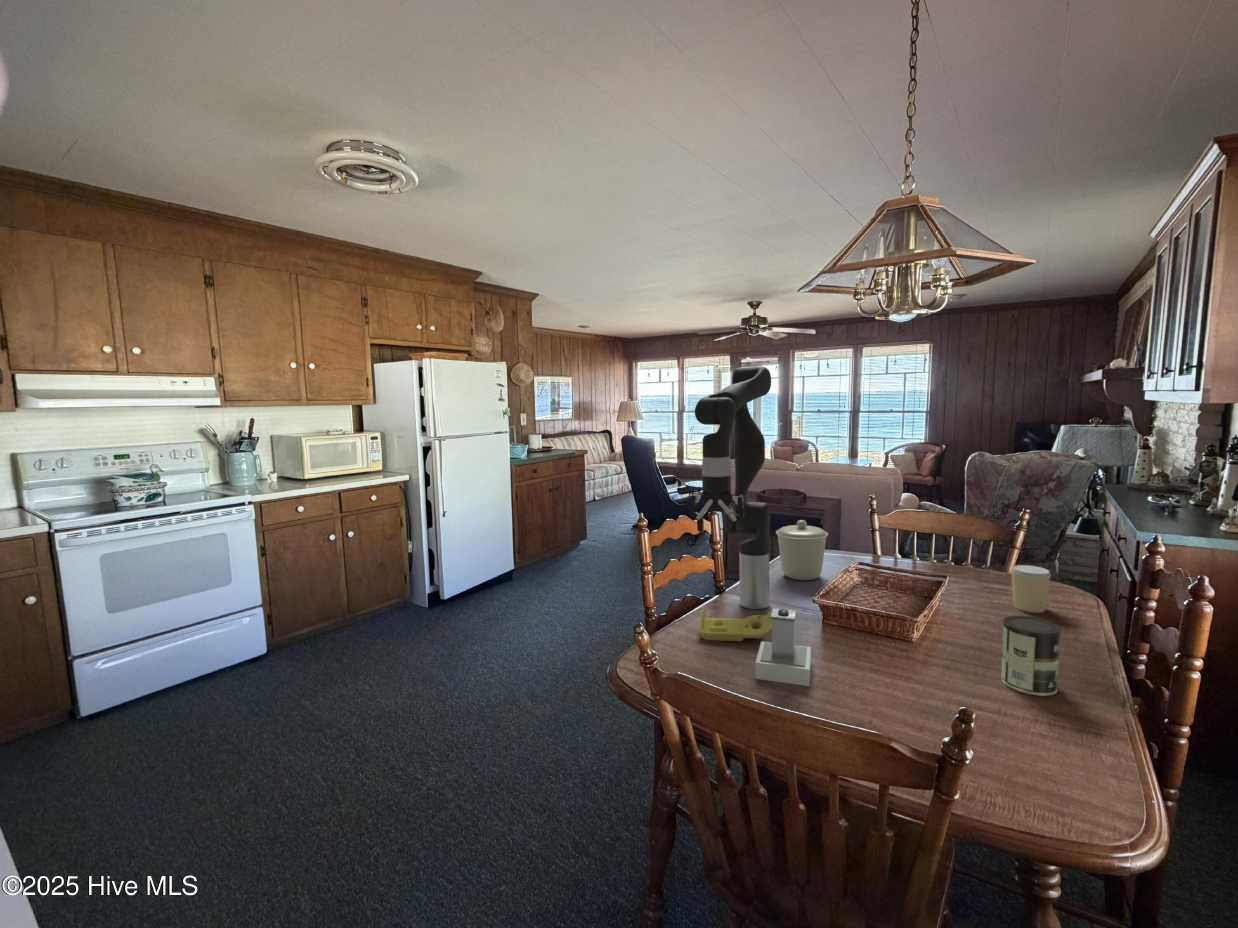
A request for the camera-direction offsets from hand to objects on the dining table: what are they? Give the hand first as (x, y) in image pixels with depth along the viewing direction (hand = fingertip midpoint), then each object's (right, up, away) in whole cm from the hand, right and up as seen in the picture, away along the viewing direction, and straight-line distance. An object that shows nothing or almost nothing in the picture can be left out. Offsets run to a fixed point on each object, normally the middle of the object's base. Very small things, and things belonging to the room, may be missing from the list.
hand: (717, 533), depth 148 cm
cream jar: (+98, -25, +19) cm, 103 cm away
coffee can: (+65, -31, -24) cm, 76 cm away
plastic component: (+6, -30, +6) cm, 31 cm away
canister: (+41, -23, +55) cm, 72 cm away
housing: (+13, -27, -15) cm, 34 cm away
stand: (+14, -31, -14) cm, 37 cm away
